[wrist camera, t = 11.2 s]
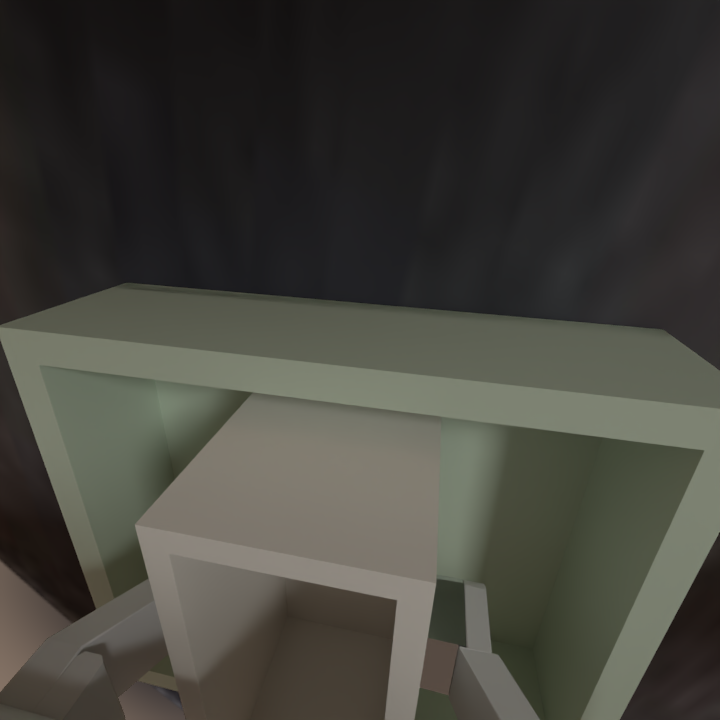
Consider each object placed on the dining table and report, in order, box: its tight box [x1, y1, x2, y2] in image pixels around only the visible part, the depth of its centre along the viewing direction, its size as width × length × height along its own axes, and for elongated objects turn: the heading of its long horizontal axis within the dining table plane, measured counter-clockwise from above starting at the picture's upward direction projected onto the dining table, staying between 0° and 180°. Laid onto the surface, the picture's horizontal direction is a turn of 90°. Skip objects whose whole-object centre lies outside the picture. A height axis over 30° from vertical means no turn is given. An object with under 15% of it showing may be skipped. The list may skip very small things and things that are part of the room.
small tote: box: [135, 392, 441, 720], centre depth 10 cm, size 5×9×5 cm, turn 178°
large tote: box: [0, 283, 720, 720], centre depth 12 cm, size 15×13×4 cm
